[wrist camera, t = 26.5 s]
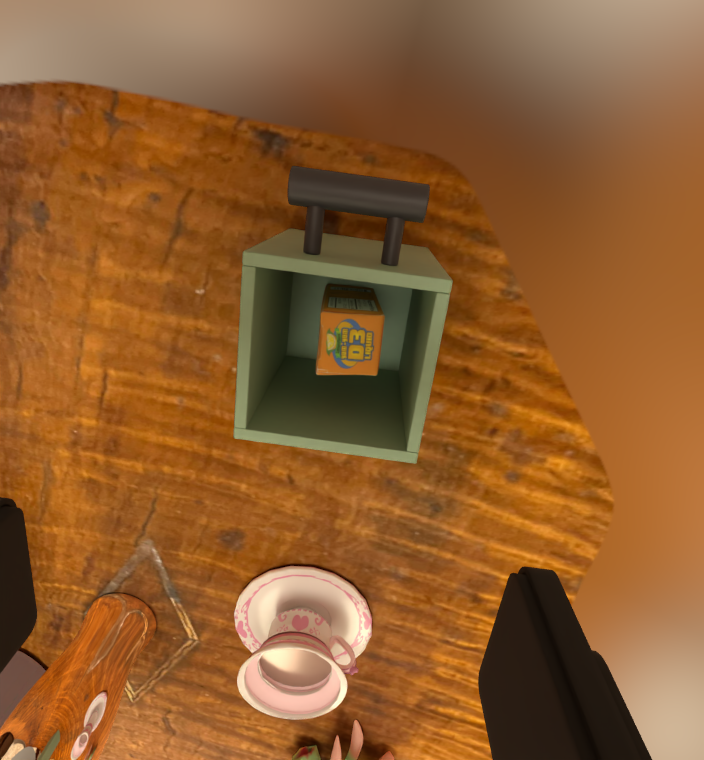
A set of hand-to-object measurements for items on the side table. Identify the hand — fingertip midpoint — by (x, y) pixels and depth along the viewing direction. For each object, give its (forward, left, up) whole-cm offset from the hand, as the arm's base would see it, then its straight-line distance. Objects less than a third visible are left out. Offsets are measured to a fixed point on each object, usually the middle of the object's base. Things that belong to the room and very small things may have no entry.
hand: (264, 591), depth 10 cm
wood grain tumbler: (+31, -16, -26) cm, 44 cm away
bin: (+5, 0, -20) cm, 21 cm away
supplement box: (0, 0, -26) cm, 26 cm away
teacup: (+28, 0, -26) cm, 39 cm away
